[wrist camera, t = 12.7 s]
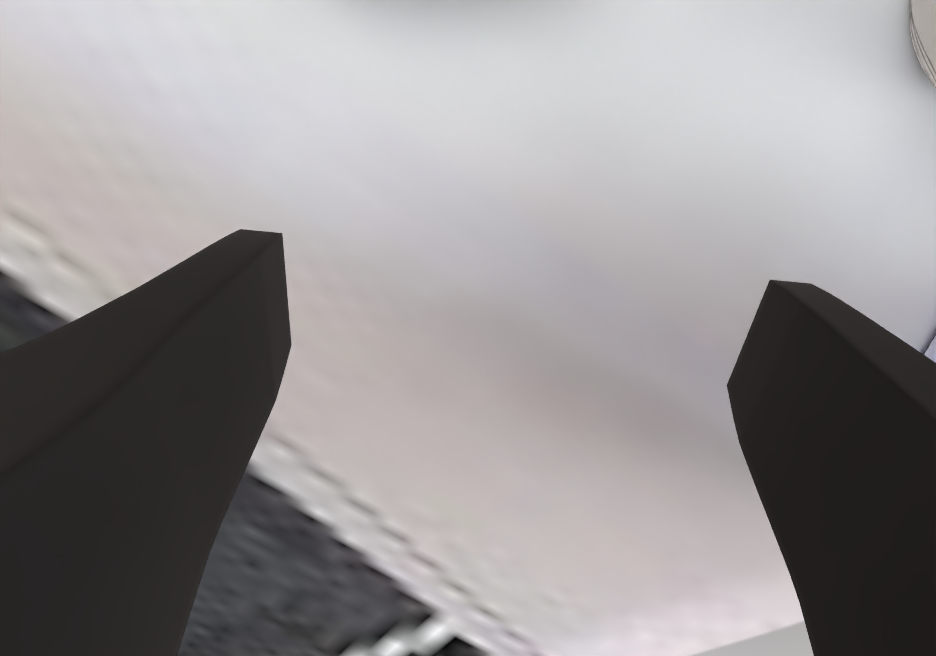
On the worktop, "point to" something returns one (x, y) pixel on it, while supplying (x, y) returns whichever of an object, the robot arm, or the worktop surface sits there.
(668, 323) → the worktop surface
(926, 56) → the mug
